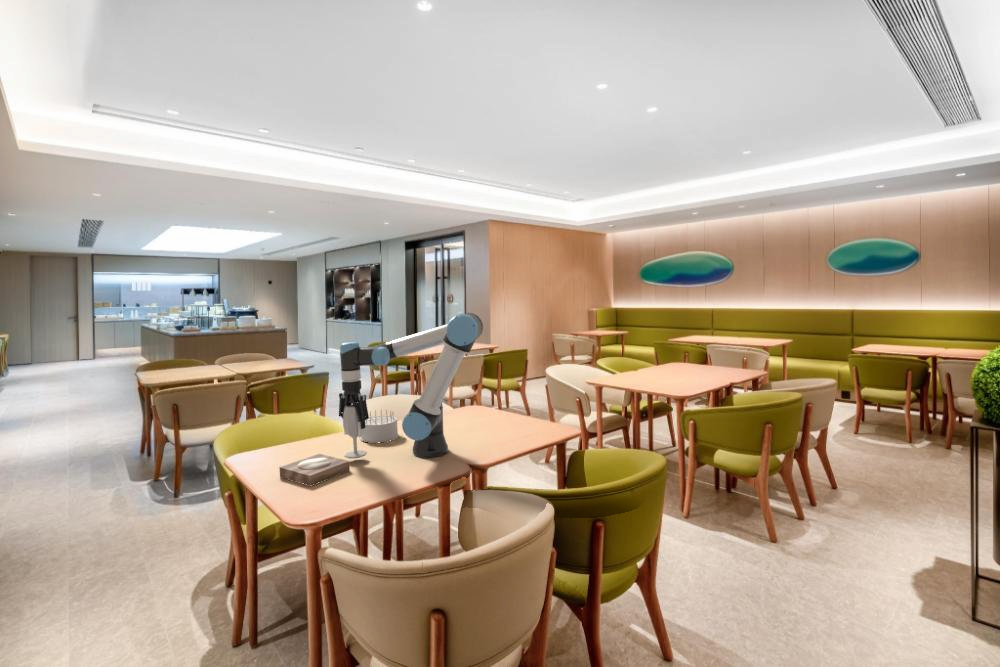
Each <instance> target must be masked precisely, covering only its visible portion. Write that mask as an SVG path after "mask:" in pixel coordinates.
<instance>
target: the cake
mask: <svg viewBox="0 0 1000 667" xmlns="http://www.w3.org/2000/svg"><path fill="white" fill-rule="evenodd" d="M374 413H375V414H374V416H372V411H371V410H370V412H369V419H367V420H365V436H363V437H359V441H361V442H362V441H364V442H363V443H365V442H368V443H367V444H379V443H378V442H384V443H386V442H385V441H389V442H391V441H390V440H393V439H395V440H397V439H398V438H399V437H400V435H399V431H398V418H397V417H395V416H394V411H391V409H390V410H389V415H388V410H387V409H385V415H383V412H382V409H380V415H377V410H376V409H375V410H374ZM398 436H399V437H398ZM396 438H397V439H396ZM393 441H394V440H393Z"/></svg>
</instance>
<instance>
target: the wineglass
mask: <svg viewBox="0 0 1000 667" xmlns="http://www.w3.org/2000/svg"><path fill="white" fill-rule="evenodd" d="M361 418H362V417H361ZM358 421H359V418H358V415H357V412H356V408H355V406H353V404H351V405H349V406H345V409H344V415H343V418H342V426H343V430H345V433H346V435H348V436H349V437H351V438H352V440H353V441H352V442H353V450H351V451H349V452H346V453H345V454H344V458H346V459H360V458H363V457H366V455H367V454H368V451H366V450H361V449H359V450H358V441H357V438H359V433H358Z"/></svg>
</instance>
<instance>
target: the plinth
mask: <svg viewBox="0 0 1000 667" xmlns="http://www.w3.org/2000/svg"><path fill="white" fill-rule="evenodd" d="M349 470H350V460H347V459H342V458H339V457H334V456H330V455H326V454H322V453H317V454H315V455H312V456H308V457H305V458H303V459H299V460H297V461H294V462H291V463H288V464H285V465H282V466H279V478H280V477H283V478H286V479H285V480H287V479H289V480H288V481H290V480H293V481H297V482H300V483H304V484H307V485H313V484H316V483H318V482H321V481H323V482H325V481H324V480H326V479H328V480H330V479H329V478H331V477H333V478H335V477H334V476H336V475H338V476H340V475H339V474H341V475H343V474H345V473H344V472H346V473H348V472H350V471H351V470H350V471H349ZM347 471H348V472H347ZM342 473H343V474H342ZM336 477H337V476H336ZM283 478H282V479H283ZM331 479H332V478H331ZM293 481H292V482H293ZM326 481H327V480H326ZM297 482H296V483H297ZM300 483H299V484H300ZM321 483H322V482H321ZM304 484H303V485H304ZM318 484H319V483H318ZM307 485H306V486H307ZM316 485H317V484H316ZM313 486H314V485H313Z"/></svg>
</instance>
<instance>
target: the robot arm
mask: <svg viewBox="0 0 1000 667" xmlns="http://www.w3.org/2000/svg"><path fill="white" fill-rule="evenodd" d="M483 331H484V324H483V321H482V319H481V318H480V316H478V315H477V314H475V313H472V312H465V313H459V314H457V315H454V316H453V317H452V318H451V319H450V320H449V321H448V323H447V324H442V325H439V326H436V327H433V328H430V329H427V330H423V331H419V332H417V333H413V334H411V335H406V336H404V337H401V338H398V339H395V340H391V341H387V342H384V343H381V344H379V345H375V346H367V347H366V346H365V347H363V346H360V343H359V342H357V341H351V342H350V341H349V342H348V341H347V342H342V343H341V344H340V345H339V356H340V358H339V359H340V367H341V370H340V371H341V372H340V373H341V374H340V375H341V381H342V382H341V388H342V389H341V390H342V391H343V392H341V393H338V397H339V401H338V402H339V404H338V417H340V418H342V419H343V415H344V409H345V406H349V405H351V404H353V406H355V408H356V412H357V415H358V418H359V421H358V433H359V436H358V438H360V437H363V436H365V420H367V419H369V417H370V414H369V411H368V410H369V409H368V404H367V395H366V394H362V393H361V389H362V380H361V378H362V377H361V376H362V375H361V366H365V367H367V366H369V367H370V366H371V367H372V366H373V367H374V366H375V367H380V366H387V365H388V364H389V362H390V361H391V360H395V359H397V358H401V357H404V356H408V355H411V354H414V353H417V352H421V351H424V350H429V349H430V348H435V347H437V346H442V345H443V348H442V350H441V352H440V355H439V356H438V358H437V360H436V363H435V365H434V367H433V369H432V372H431V373H430V376H429V378H428V379H427V382H426V384H425V386H424V388H423V391H422V393H421V395H420V397H419V398H417V399H415V400H413V403H412V404H411V407H410V409H409V411H408V413H407V414H406V415H405V416H404V418H403V419H402V423H401V425H402V426H401V428H402V431H403V433H404V435H405V436H407V438H409V439H410V440H413V441H414V442H413V446H412V455H413V454H414V455H413V456H415V457H418V456H419V458H425V457H429V458H437V457H441V456H443V455H446V454H447V453H448V452H449V446H448V443H447V441H446V438H445V434H444V410H443V409H444V406H443V400H444V399H445V396H446V394H447V392H448V390H449V388H450V386H451V383H452V382H453V379H454V377H455V375H456V373H457V370H458V369H459V366H460V365H461V362H462V361H463V358H464V356H465V355H467V354H470V353H471V350H472V348H473V346H474V344H475V343H476V341H477V339H479V338H480V336H481V335H482V333H483ZM361 417H362V418H361ZM343 430H344V429H343ZM343 433H344V436H345V435H347V434H346V433H345V430H344V431H343Z"/></svg>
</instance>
